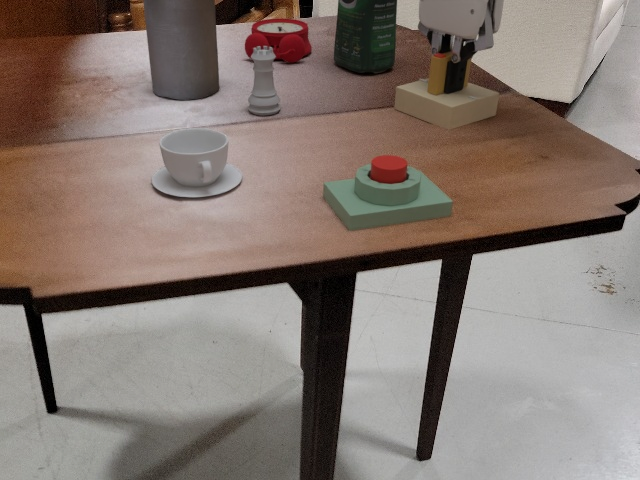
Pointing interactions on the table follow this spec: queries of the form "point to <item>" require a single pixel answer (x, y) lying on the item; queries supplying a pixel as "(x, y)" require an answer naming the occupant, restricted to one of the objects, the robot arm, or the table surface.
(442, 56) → the handle
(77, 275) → the table surface
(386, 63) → the coffee jar
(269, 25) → the alarm clock
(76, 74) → the table surface
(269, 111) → the rook chess piece
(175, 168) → the teacup
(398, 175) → the button
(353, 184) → the button block
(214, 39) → the pillar candle
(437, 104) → the plate
